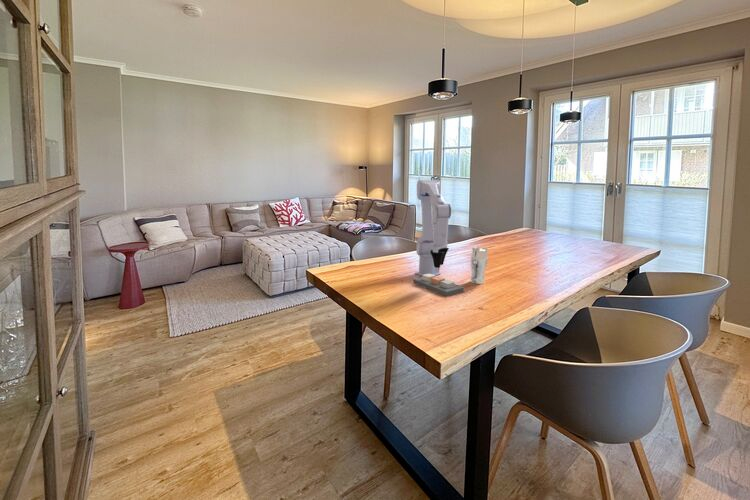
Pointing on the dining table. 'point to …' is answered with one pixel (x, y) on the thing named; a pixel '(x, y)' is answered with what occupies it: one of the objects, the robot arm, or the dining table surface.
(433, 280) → the terracotta key
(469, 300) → the dining table surface
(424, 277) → the cream key
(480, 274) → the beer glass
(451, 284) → the grey key
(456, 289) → the key board
